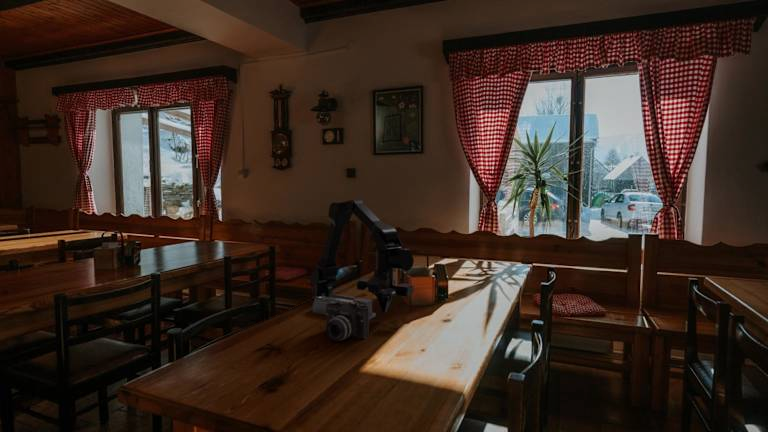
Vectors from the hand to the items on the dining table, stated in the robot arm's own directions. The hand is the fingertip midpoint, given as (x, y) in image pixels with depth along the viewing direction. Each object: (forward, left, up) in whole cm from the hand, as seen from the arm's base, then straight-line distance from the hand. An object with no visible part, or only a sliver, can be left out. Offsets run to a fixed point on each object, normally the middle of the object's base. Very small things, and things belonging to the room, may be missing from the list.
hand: (384, 312), depth 150 cm
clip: (-8, 0, -2) cm, 9 cm away
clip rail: (-8, 0, -3) cm, 9 cm away
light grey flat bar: (-19, 0, +1) cm, 19 cm away
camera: (-3, -20, -3) cm, 21 cm away
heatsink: (-19, 0, -3) cm, 20 cm away
